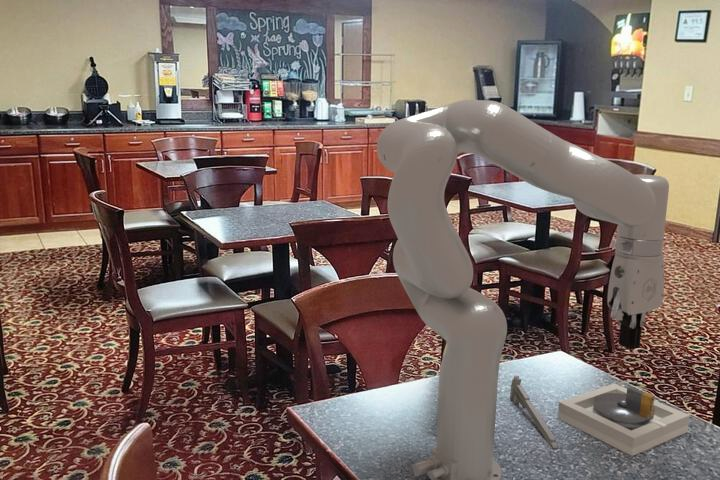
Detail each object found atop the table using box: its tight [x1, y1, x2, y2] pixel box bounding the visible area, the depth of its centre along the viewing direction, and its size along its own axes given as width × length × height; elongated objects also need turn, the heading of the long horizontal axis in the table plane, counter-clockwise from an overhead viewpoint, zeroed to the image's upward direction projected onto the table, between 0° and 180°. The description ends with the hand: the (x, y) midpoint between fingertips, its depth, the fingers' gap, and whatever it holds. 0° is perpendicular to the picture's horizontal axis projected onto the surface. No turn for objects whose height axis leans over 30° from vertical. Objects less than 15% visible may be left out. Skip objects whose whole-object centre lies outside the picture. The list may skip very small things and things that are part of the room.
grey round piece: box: [593, 386, 655, 431], centre depth 134 cm, size 11×11×6 cm
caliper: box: [509, 375, 559, 449], centre depth 135 cm, size 20×1×6 cm, turn 10°
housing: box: [557, 382, 691, 457], centre depth 134 cm, size 17×17×4 cm
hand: (629, 346), depth 124 cm, fingers closed
